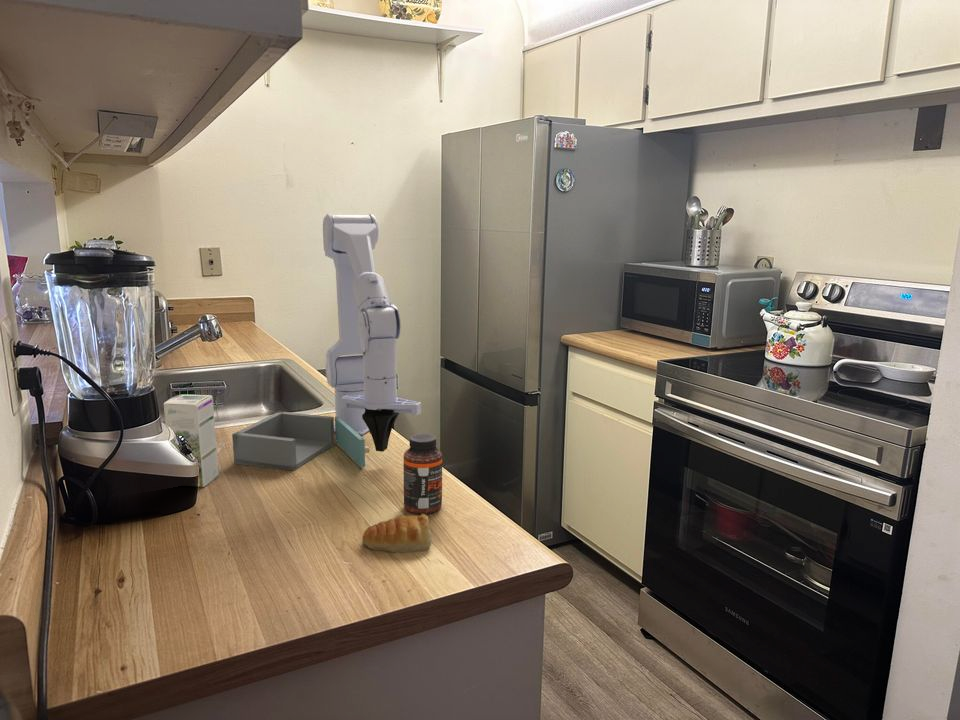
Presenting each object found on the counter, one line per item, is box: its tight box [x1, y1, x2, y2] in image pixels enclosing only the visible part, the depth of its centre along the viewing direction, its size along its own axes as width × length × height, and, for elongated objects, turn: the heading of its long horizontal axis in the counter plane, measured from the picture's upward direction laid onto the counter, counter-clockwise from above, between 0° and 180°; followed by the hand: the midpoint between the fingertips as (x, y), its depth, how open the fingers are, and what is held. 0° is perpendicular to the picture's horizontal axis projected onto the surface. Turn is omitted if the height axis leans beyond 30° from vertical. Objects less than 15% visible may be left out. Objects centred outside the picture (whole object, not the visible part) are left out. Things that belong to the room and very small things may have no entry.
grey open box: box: [231, 411, 336, 472], centre depth 127 cm, size 15×12×6 cm
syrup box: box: [163, 393, 220, 488], centre depth 112 cm, size 6×6×14 cm
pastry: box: [362, 514, 432, 553], centre depth 93 cm, size 9×7×4 cm
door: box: [334, 416, 370, 468], centre depth 126 cm, size 15×2×5 cm, turn 29°
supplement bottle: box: [403, 433, 443, 515], centre depth 103 cm, size 6×6×11 cm
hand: (381, 449), depth 121 cm, fingers closed
